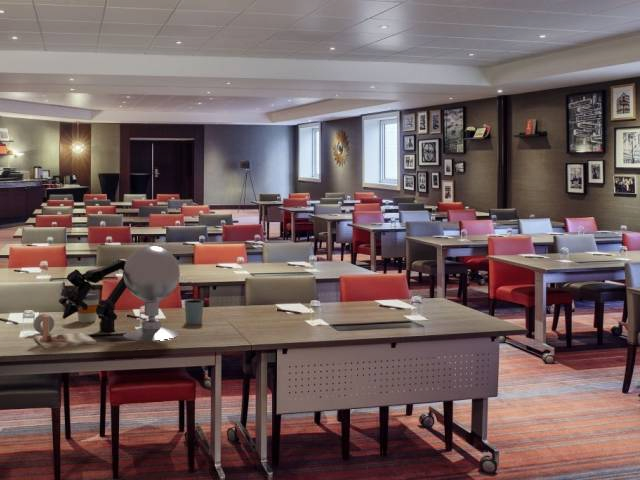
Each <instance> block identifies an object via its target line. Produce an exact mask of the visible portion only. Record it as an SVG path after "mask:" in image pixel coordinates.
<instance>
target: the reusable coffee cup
mask: <svg viewBox="0 0 640 480" xmlns="http://www.w3.org/2000/svg"><path fill="white" fill-rule="evenodd" d="M86 297H87V298H86V299H84V300H83V302H85V303H86V304H87V305H88V309H87V310H86V311H83V310H82V307H80V308H79V309H78V310H79V311H77V312H76V313H77V318H78V319H77V320H78V322H79V323H83V324H85V323H86V322H90V323H94V322H93V321H95V322H96V321H97V317H98V315H97V313H96V308H97V305H98V304H99V301H100V300H99V299H100V293H99V292H97V291H89V293H88V294H87V295H86ZM86 324H87V323H86Z"/></svg>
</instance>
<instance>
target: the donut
mask: <svg viewBox="0 0 640 480" xmlns="http://www.w3.org/2000/svg"><path fill="white" fill-rule="evenodd" d="M43 316H49V333H50V332H51V331H53V329H54V327H55V320H54V318H53V317H52V316H51V315H49V314H47V313H42V314H41V313H40V314H38V315H37V316H36V317H35V318H34V320H33V324H32V325H33V329H34V330H35V331H36V332H37V333H39V334H42V335H43V325H42V324H41V323H43Z"/></svg>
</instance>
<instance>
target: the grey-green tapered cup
mask: <svg viewBox="0 0 640 480" xmlns="http://www.w3.org/2000/svg"><path fill="white" fill-rule="evenodd" d="M184 309H185V311H184V312H185V323H186V324H187V323H188V324H187V325H201V324H203V312H204V300H202V299H188V300H187V299H186V300H184Z"/></svg>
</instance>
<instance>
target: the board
mask: <svg viewBox="0 0 640 480" xmlns="http://www.w3.org/2000/svg"><path fill="white" fill-rule="evenodd" d="M55 336H57V338H63V336H67V339H66V341H51V337H55ZM41 337H43V335H38V336H37V335H35V336H34V337H33V339H34V340H35V342H37V343H38V344H39V345H40V346H41V347H42V348H44V349H50V348H51V349H53V348H63V347H73V346H83V345H84V346H85V345H95V344H97V340H96V339H94V338H93V337H92V336H90V335H88V334H87V333H85V332H74V333H73V332H72V333H61V334H59V333H58V334H49V335H47V341H40V338H41ZM52 347H53V348H52Z"/></svg>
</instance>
